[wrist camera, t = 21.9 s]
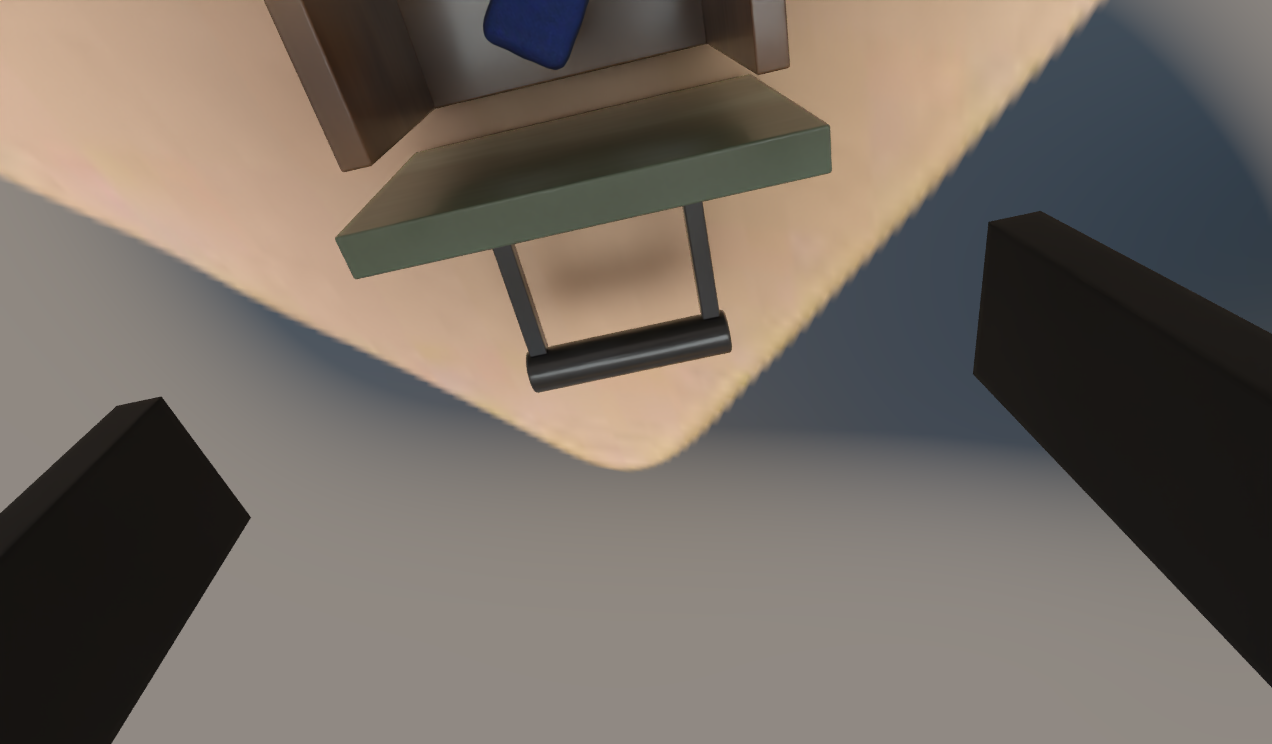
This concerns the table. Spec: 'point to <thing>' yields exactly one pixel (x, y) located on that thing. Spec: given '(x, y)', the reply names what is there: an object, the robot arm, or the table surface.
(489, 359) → the table surface
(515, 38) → the eraser
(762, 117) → the drawer
